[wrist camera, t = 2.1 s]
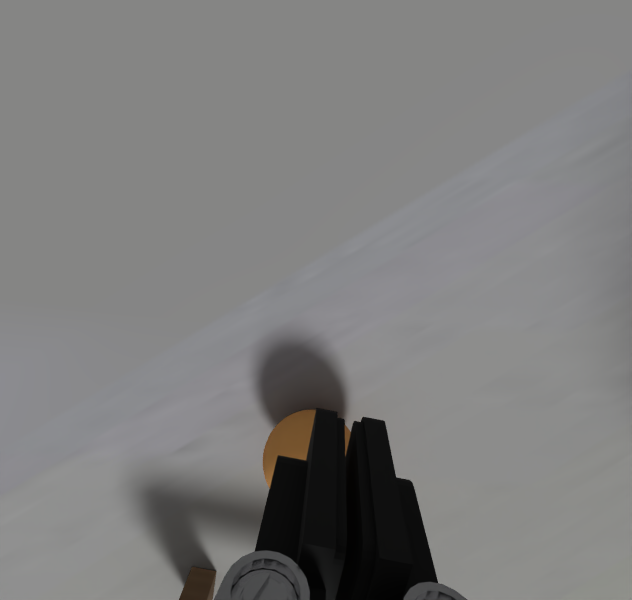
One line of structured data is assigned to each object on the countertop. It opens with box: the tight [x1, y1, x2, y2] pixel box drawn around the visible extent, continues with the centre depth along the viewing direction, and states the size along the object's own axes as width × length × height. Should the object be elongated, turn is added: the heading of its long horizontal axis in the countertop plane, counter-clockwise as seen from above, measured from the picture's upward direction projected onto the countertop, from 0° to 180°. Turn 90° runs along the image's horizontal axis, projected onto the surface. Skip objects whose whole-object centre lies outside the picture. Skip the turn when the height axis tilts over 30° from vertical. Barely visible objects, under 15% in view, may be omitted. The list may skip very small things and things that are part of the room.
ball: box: [263, 410, 351, 488], centre depth 24 cm, size 6×6×6 cm
